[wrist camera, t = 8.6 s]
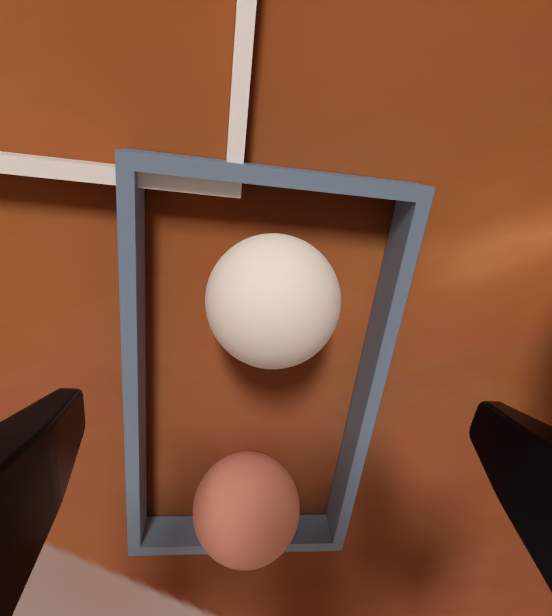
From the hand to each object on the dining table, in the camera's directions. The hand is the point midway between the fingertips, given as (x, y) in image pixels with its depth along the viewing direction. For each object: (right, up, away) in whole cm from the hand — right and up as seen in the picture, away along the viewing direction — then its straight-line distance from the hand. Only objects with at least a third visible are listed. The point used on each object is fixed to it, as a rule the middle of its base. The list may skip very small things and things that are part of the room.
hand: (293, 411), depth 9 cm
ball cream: (-1, +4, +8) cm, 9 cm away
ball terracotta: (-2, -6, +12) cm, 14 cm away
